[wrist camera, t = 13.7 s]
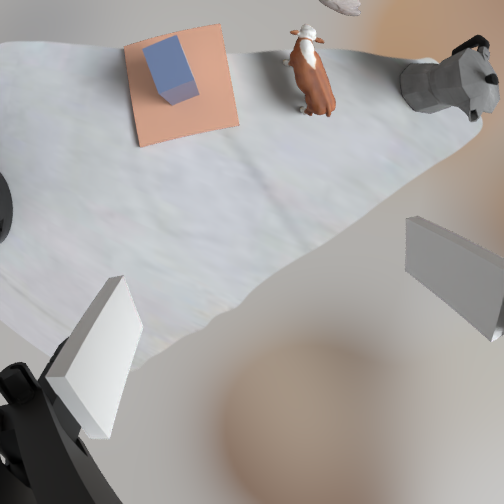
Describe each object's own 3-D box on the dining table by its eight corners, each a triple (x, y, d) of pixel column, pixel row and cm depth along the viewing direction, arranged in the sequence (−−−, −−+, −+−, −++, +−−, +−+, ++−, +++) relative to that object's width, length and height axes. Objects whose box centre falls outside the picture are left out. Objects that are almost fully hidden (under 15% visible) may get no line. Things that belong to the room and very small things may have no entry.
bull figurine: (302, 36, 36) (319, 17, 28) (325, 118, 41) (347, 113, 33) (274, 39, 36) (286, 19, 28) (297, 123, 41) (314, 118, 33)
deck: (158, 69, 35) (141, 49, 26) (185, 58, 35) (177, 34, 25) (171, 105, 37) (158, 94, 28) (200, 94, 37) (194, 79, 28)
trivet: (141, 147, 39) (140, 147, 38) (125, 48, 34) (124, 46, 33) (239, 125, 40) (239, 125, 39) (220, 26, 34) (220, 23, 33)
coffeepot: (430, 133, 43) (508, 140, 26) (389, 108, 41) (466, 101, 24) (447, 64, 38) (518, 52, 21) (408, 36, 36) (477, 10, 20)
